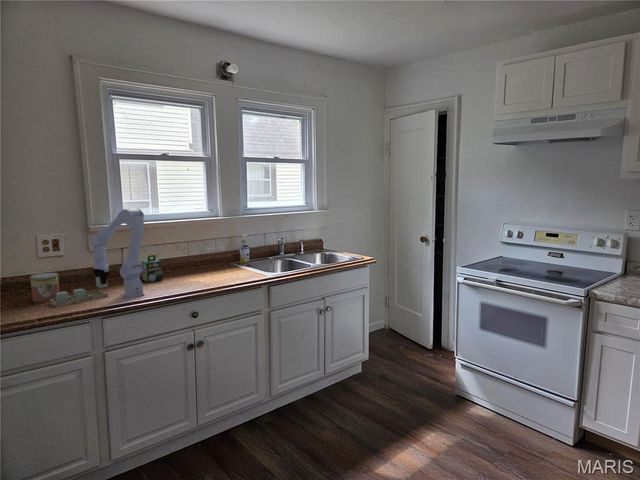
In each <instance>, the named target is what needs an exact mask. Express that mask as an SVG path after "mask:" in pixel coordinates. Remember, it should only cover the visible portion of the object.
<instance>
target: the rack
mask: <svg viewBox="0 0 640 480" xmlns="http://www.w3.org/2000/svg"><path fill="white" fill-rule="evenodd" d="M68 296H69V300H66V301H61V302H56V298H55V299H50V301H49V304H51V306H53V307H54V308H58V307H64V306H68V305H72V304H73V305H74V304H78V303H83V302H89V301H92V300H98V299H103V298H108V297H109V296H108V292H106V291H103V290H101V289H99V290H94V291H87V292H85V296H86V297H82V298H77V299H74V298H73V294H72V295H68Z"/></svg>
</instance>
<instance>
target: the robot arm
mask: <svg viewBox="0 0 640 480" xmlns="http://www.w3.org/2000/svg"><path fill="white" fill-rule="evenodd" d="M144 219H145V214H144V212H143V210H142V209H141V208H139V207H134V208H128V209H127V208H124V209H122V210H121V211H120V212H118V213H117V216H116V217H115V218H114V220H112V222H111V223H110V224H109V225H103V226H102V227H101V228H102V229H101V230H99V231H98V232H96V234H94V235H91V236H90V237H89V244H90V245H91V247H92V251H93V252H92V253H93V264H92V267H93V269H92V273H93V274H94V276H95V278H96V277H100V281H101V284H102V285H103V284H106V282H107V283H108V276H109V274H110V272H111V271H110V270H109V267H110V265H109V264H107V263H108V262H107V250H106V249H107V244H108V242H109V239H110V238H111V237H113V236H114V235H115V234H116V230H117V229H118V228H119V227H120V226H121V225H122V224H125V225H126V226H128V227H129V228H130V229H131V233H130V238H129V245H128V250H127V255H126V259H125V260H124V261H123V262H122V265H121V267H120V269H119V274H120V277H122V279H123V288H124V292H122V293H121V295H122V296H125V297H126V298H135V297H140V296H145V295H146V293H144V289H143V288H144V287H143V285H144V284H143V282H142V280H140V277H141V275H142V262H141V261H142V260H140V254H141V251H142V250H141V249H142V244H143V237H144V233H145V221H144Z"/></svg>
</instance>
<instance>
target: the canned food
mask: <svg viewBox="0 0 640 480" xmlns="http://www.w3.org/2000/svg"><path fill="white" fill-rule="evenodd" d="M30 287H31V295H32V301H33V302H35V303H45V302H50V299H55V298H56V293H59V292H60V282H59V274H58V272H42V273H41V272H40V273H36V274H32V275H30Z"/></svg>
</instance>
